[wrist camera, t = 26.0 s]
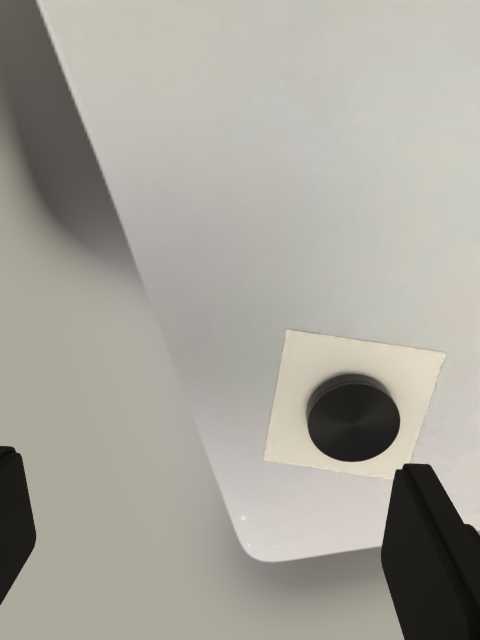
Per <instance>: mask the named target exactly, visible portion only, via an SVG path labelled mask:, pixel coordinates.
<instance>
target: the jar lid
mask: <svg viewBox="0 0 480 640" xmlns="http://www.w3.org/2000/svg"><path fill="white" fill-rule="evenodd" d="M306 420H307V426H308V432H309V435H310V438H311V440H312V442H313V444H314V445H315V446H316V447H317V448H318V449H319V450H320V451H321V452H322V453H323V454H325V455H327V456H328V457H330V458H333V459H335V460H339V461H344V462H360V461H365V460H369V459H372V458H374V457H376V456H378V455H380V454H381V453H383V452H384V451H385V450H387V449H388V448H389V447H390V446H391V444H392V443H393V442H394V440H395V439H396V437H397V435H398V432H399V429H400V413H399V410H398V408H397V406H396V404H395V402H394V400H393V398H392V396H391V394H390V393H389V391H388V390H387V389H386V388H385V387H384V385H382V384H381V383H380V382H378V381H377V380H375V379H373V378H371V377H368V376H365V375H359V374H344V375H339V376H336V377H333V378H331V379H329V380H327V381H325V382H324V383H322V384H321V385H320V386H319V387H318V388H317V389H316V390H315V391H314V392H313V394H312V395H311V397H310V399H309V401H308V404H307V408H306Z"/></svg>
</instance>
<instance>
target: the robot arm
mask: <svg viewBox="0 0 480 640" xmlns="http://www.w3.org/2000/svg"><path fill="white" fill-rule="evenodd" d="M35 542H36V530H35V525H34V520H33V514H32V509H31V504H30V498H29V493H28V488H27V482H26V477H25V471H24V466H23V461H22V456H21V455H20V453H16V451H15V449H14V448H13V447H8V446H0V605H1V603H2V601H3V600H4V598H5V596H6V595H7V593H8V591H9V590H10V588H11V586H12V584H13V583H14V581H15V579H16V578H17V576H18V574H19V573H20V571H21V569H22V568H23V566H24V564H25V562H26V561H27V559H28V557H29V556H30V554H31V552H32V550H33V548H34V546H35ZM381 562H382V567H383V571H384V574H385V577H386V581H387V584H388V587H389V590H390V593H391V597H392V600H393V603H394V606H395V610H396V613H397V616H398V620H399V623H400V626H401V629H402V633H403V636H404V639H405V640H480V536H479V534H478V532H477V531H476V530H475V528H474V527H473V526H471V525H470V524H464V523H463V521H462V519H461V517H460V516H459V514H458V512H457V510H456V509H455V507H454V505H453V503H452V502H451V500H450V498H449V496H448V495H447V493H446V491H445V489H444V488H443V486H442V484H441V482H440V481H439V479H438V477H437V475H436V474H435V472H434V470H433V469H432V467H431V466H430V465H428V464H411V463H405V464H404V465H403V467H402V469H396V471H395V474H394V480H393V486H392V492H391V497H390V503H389V509H388V515H387V521H386V526H385V532H384V538H383V544H382V550H381Z"/></svg>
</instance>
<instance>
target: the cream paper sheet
mask: <svg viewBox="0 0 480 640" xmlns="http://www.w3.org/2000/svg"><path fill="white" fill-rule="evenodd" d="M445 354H446V353H443V352H436V351H429V350H423V349H416V348H409V347H402V346H395V345H389V344H382V343H375V342H368V341H362V340H355V339H348V338H341V337H334V336H328V335H321V334H314V333H307V332H300V331H294V330H287V331H286V336H285V342H284V347H283V353H282V358H281V363H280V369H279V374H278V380H277V385H276V390H275V396H274V401H273V407H272V412H271V418H270V423H269V428H268V434H267V439H266V445H265V450H264V456H263V460H265V461H272V462H278V463H285V464H291V465H298V466H305V467H311V468H318V469H324V470H331V471H338V472H344V473H351V474H358V475H364V476H371V477H377V478H384V479H391V480H394V474H395V471H396V469H402V467H403V465H404V464H405V463H410V460H411V457H412V454H413V451H414V448H415V445H416V442H417V439H418V436H419V433H420V430H421V427H422V424H423V421H424V418H425V415H426V412H427V409H428V406H429V403H430V400H431V397H432V394H433V391H434V388H435V385H436V382H437V378H438V375H439V372H440V369H441V366H442V363H443V360H444V357H445ZM344 374H359V375H365V376H368V377H371V378H373V379H375V380H377V381H378V382H380V383H381V384H382V385H384V387H385V388H386V389H387V390H388V391H389V393H390V394H391V396H392V398H393V400H394V402H395V404H396V406H397V408H398V410H399V413H400V429H399V432H398V435H397V437H396V439H395V440H394V442H393V443H392V444H391V446H390V447H389V448H388V449H387V450H385V451H384V452H383V453H381V454H380V455H378V456H376V457H374V458H372V459H369V460H365V461H360V462H344V461H339V460H335V459H333V458H330V457H328V456H327V455H325V454H323V453H322V452H321V451H320V450H319V449H318V448H317V447H316V446H315V445H314V444H313V442H312V440H311V438H310V435H309V432H308V426H307V420H306V408H307V404H308V401H309V399H310V397H311V395H312V394H313V392H314V391H315V390H316V389H317V388H318V387H319V386H320V385H321V384H322V383H324V382H325V381H327V380H329V379H331V378H333V377H336V376H339V375H344Z"/></svg>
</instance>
